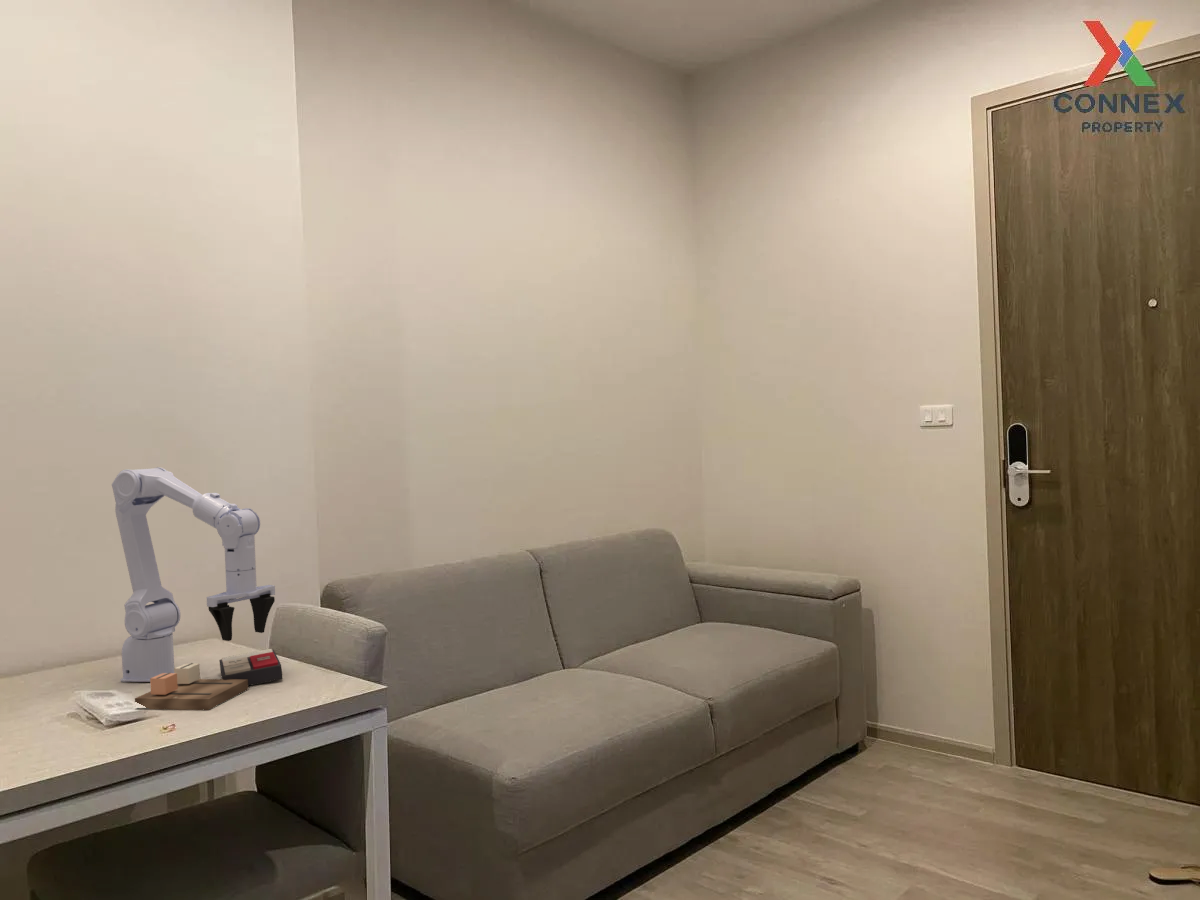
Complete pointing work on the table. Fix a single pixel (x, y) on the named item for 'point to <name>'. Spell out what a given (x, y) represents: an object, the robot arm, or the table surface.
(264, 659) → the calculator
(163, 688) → the terracotta fader
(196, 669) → the ivory fader
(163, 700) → the mixer panel
